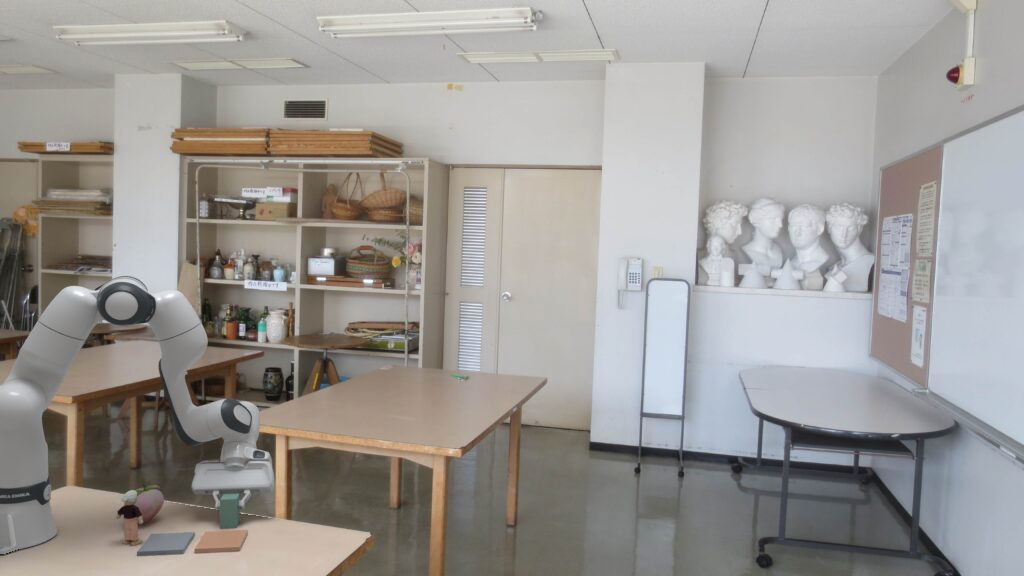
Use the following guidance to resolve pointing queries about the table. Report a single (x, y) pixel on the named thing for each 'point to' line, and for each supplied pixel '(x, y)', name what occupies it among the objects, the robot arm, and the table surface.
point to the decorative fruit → (149, 501)
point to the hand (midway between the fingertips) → (229, 508)
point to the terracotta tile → (221, 541)
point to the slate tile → (166, 543)
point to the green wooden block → (229, 511)
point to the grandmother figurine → (130, 518)
